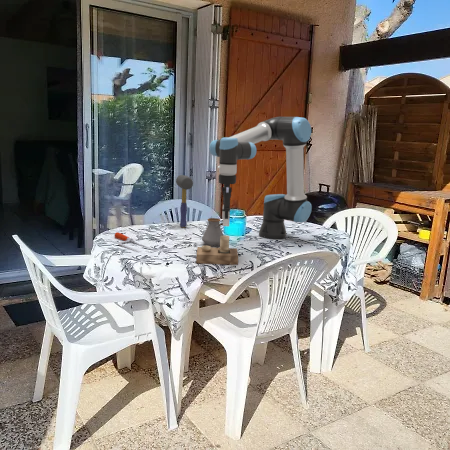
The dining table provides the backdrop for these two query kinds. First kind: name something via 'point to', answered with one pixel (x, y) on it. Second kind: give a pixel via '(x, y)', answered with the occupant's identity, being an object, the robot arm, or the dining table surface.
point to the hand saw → (127, 239)
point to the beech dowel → (224, 244)
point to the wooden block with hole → (216, 256)
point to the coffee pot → (213, 232)
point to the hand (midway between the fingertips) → (225, 222)
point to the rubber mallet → (184, 196)
